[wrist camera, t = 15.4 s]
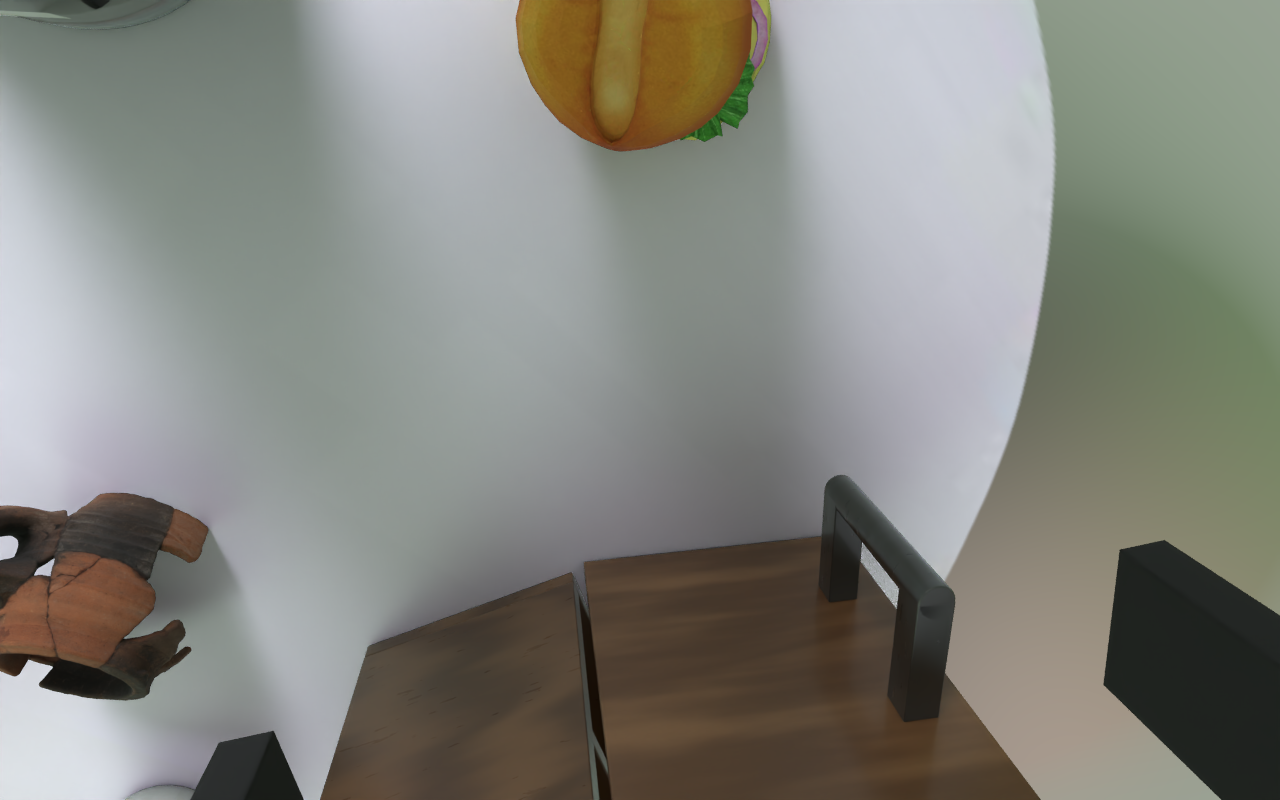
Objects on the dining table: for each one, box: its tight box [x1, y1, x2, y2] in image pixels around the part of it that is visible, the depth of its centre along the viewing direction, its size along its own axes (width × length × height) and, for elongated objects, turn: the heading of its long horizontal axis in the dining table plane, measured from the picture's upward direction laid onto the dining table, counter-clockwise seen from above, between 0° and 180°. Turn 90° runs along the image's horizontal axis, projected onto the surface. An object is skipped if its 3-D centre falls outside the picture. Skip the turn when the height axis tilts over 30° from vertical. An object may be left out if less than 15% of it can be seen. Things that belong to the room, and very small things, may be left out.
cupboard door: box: [584, 475, 1040, 800], centre depth 34 cm, size 8×16×20 cm, turn 92°
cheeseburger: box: [516, 0, 771, 151], centre depth 30 cm, size 10×11×10 cm
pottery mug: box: [0, 493, 208, 700], centre depth 37 cm, size 12×10×8 cm
